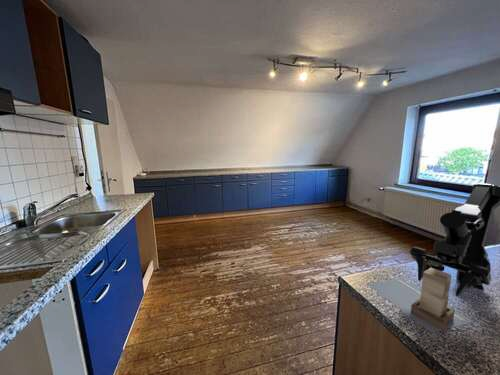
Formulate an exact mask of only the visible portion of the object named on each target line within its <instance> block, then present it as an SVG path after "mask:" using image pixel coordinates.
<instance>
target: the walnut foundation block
mask: <svg viewBox="0 0 500 375" xmlns="http://www.w3.org/2000/svg"><path fill="white" fill-rule="evenodd" d="M419 306H420V299H418V300H417V301H416V302H415V303H413V304H412V305H411V313H412V314H414V315H415V316H417V317H419V318H421V319H423V320H425V321H427V322H429V323H431V324H432V325H434V326H436V327H438V328H440V329H442V330H441V331H444V330H443V329H444V328H445V327H446V326H447V325H448V324H449V323H450V322H451V321H452V320H453V318H454V311H455V309H454V310H453V308H452V307H451V308H452V309H451V308H449V307H450V306H449V307H447V312H446V313H445V314H443V315H442V316H441V317H438V316H436V315H434V314H432V313H430V312H428V311H426V310H424V309H422V308H420V307H419Z"/></svg>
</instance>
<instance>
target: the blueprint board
mask: <svg viewBox="0 0 500 375" xmlns="http://www.w3.org/2000/svg"><path fill="white" fill-rule="evenodd" d="M367 285H368V286H369V287H371V288H372V289H373V290H375V291H376V292H377V293H378V294H380V295H381V296H383V297H384V298H385V299H386V300H388V302H390V303H391V304H393V305H394V306H396V307H397V308H398V309H399V310H401V311H402V312H403V313H404V314H406V315H408V316H409V317H410V318H412V319H413V320H414V321H415V322H417V323H418V324H419V325H421V326H422V327H423V328H425V329H426V330H428V331H429V332H430V333H431V334H432V333H433V334H434V333H436V332H440V331H445V330H449V329H452V328H455V327H460V326H464V325H467V324H471V323H474V322H475V321H473V320H472V319H470V318H469V317H467V316H465V315H464V314H462V313H460V312H459V311H457V310H455V309H453V307H451V306H448V305H447V307H449V308H451V309H453V310H455V311H454V318H453V320H452V321H451V322H450V323H449V324H448V325H447V326H446V327H445V328H444V329H443V330H442V329H440V328H438V327H436V326H434V325H432V324H431V323H429V322H427V321H425V320H423V319H421V318H419V317H417V316H415V315H414V314H412V313H411V305H412V304H413V303H415V302H416V301H417V300H418V299H420V298H421V289H422V288H421V289H420V288H419V287H418V286H416V285H414V284H412V283H410V282H409V281H407V280H405V279H404V278H403V277H398V278H394V279H393V278H392V279H389V280H388V279H387V280H383V281H377V282H372V283H367Z"/></svg>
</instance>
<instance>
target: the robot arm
mask: <svg viewBox="0 0 500 375" xmlns="http://www.w3.org/2000/svg"><path fill="white" fill-rule="evenodd" d="M499 207H500V185H496V184H493V183H484V182H478V183H474V184H473V185H472V190H471V193H470V194H469V197H468V198H467V199H466V201H465V202H464V204H463V205H461V206H457V207H456V208H455V209H452V210H451V212H447V213H444V214H442V215H441V216H440V218H439V221H440V224H441V227H442V230H443V233H444V234H445V236H444V238H443V240H441V241H440V240H435V242H434V244H433V249H432V251H433V252H434V255H431V254H429V253H428V251H427V249H426V248H425V249H424V248H421V247H418V246H412V247H411V248H410V250H409V254H410V255H411V258H412V259H413V260H414V261H415V262H416V264H417V280H418V282H421V281H422V280H423V272H424V271H426V268H427V264H426V263H427V262H428V261H432V262H435V263H438V264H441V265H443V266H444V267H448V268H450V269H454V270H456V275H455V276H456V280H457V281H458V282H459V285H458V287H457V289H456V292H455V294H454V295H455V297H460V296H461V295H462V294H464V293H465V292H466V291H467V290H469V289H471V288H475V289H480V290H485V287H484V286H483V285H486V286H490V284H491V281H492V274H491V270H492V269H491V263H490V259H489V258H488V256H489V254H488V252H487V250H486V247H485V244H486V240H487V237H488V236H487V235H488V232H489V229H490V226H491V222H492V218H493V214H494V211H495V210H496V209H497V208H499ZM435 255H436V256H435Z"/></svg>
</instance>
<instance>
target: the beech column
mask: <svg viewBox="0 0 500 375" xmlns="http://www.w3.org/2000/svg"><path fill="white" fill-rule="evenodd" d="M451 280H452V274H450V273H447V272H444V271H439V270H437V269H434V268H429V269H428V270H425V271H424V272H423V278H422V279H421V281H422V282H421V298H420V306H419V307H420V308H422V309H424V310H426V311H428V312H430V313H432V314H434V315H436V316H438V317H441V316H442V315H443V314H445V313H446V312H447V306H448V303H449V295H450V289H451V282H452V281H451Z"/></svg>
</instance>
